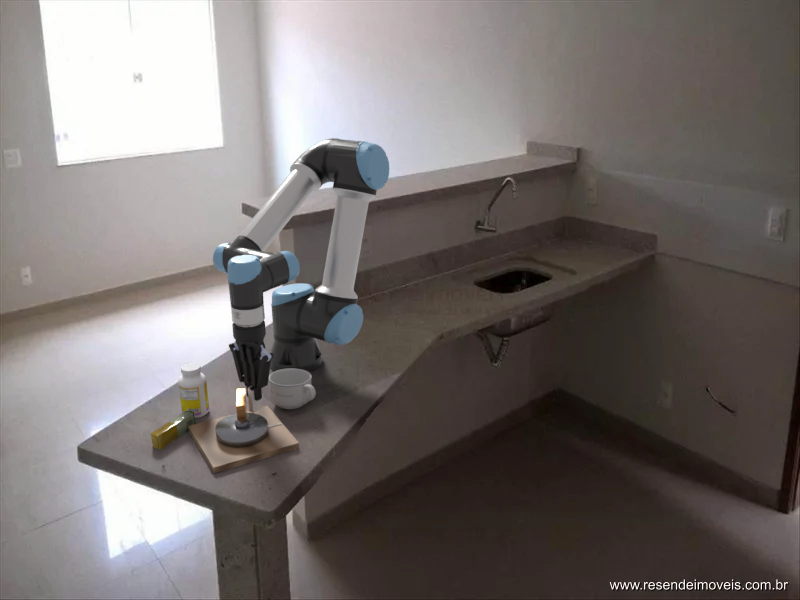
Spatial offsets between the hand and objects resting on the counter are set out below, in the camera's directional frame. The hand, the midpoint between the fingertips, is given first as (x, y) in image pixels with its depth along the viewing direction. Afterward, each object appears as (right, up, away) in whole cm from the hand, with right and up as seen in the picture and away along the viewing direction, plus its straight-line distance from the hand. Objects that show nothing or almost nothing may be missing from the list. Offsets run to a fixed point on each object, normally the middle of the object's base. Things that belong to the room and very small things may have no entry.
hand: (255, 409), depth 180 cm
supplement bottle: (-16, -2, +4) cm, 17 cm away
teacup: (+9, 0, +8) cm, 12 cm away
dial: (-2, -4, -6) cm, 7 cm away
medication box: (-18, -6, -6) cm, 20 cm away
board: (-2, -6, -7) cm, 9 cm away
